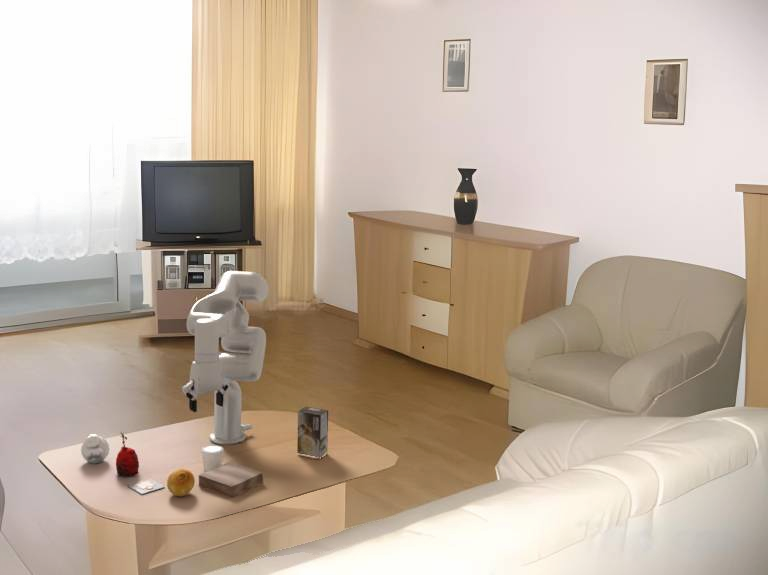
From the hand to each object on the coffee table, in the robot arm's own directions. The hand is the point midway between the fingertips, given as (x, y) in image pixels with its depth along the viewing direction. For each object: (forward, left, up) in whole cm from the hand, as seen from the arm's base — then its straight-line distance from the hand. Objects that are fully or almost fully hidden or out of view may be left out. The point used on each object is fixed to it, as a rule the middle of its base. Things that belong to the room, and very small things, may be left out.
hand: (206, 408), depth 285 cm
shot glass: (-2, +1, -21) cm, 21 cm away
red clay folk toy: (+21, -13, -21) cm, 33 cm away
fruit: (+17, +11, -21) cm, 30 cm away
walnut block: (+1, +15, -21) cm, 26 cm away
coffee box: (-35, +13, -21) cm, 43 cm away
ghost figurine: (+24, -28, -21) cm, 43 cm away
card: (+22, 0, -21) cm, 31 cm away
